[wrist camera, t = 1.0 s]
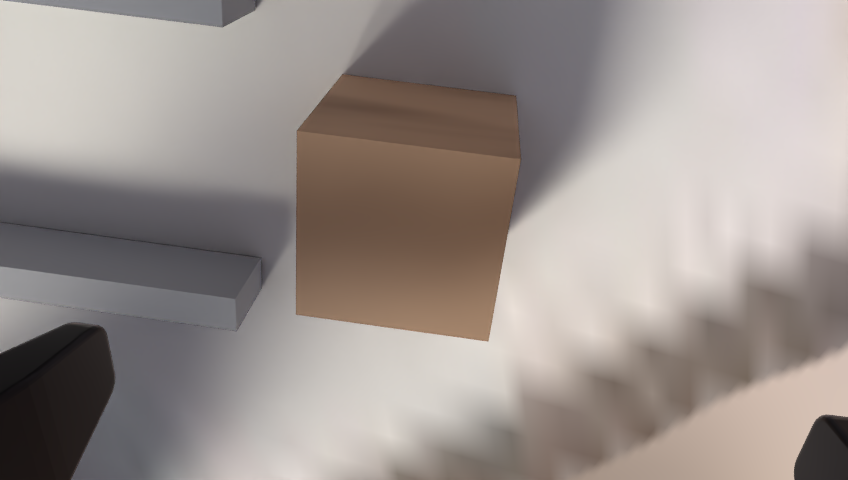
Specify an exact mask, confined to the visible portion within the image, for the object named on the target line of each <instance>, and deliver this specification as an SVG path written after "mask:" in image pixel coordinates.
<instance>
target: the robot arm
mask: <svg viewBox="0 0 848 480" xmlns="http://www.w3.org/2000/svg"><path fill="white" fill-rule="evenodd" d="M114 384H115V371H114V366H113V361H112V356H111V351H110V347H109V342H108V337H107V334H106V331H105V330H104V329H103V328H102V327H101V326H99V325H93V324H85V323H77V322H72V323H67V324H65V325H62V326H60V327H58V328H56V329H54V330H51V331H49V332H47V333H45V334H42V335H40V336H38V337H36V338H34V339H31V340H29V341H27V342H25V343H22V344H20V345H18V346H16V347H14V348H11V349H9V350H7V351H5V352H2V353H0V480H71V478H72V476H73V474H74V472H75V470H76V468H77V466H78V464H79V461H80V459H81V457H82V455H83V453H84V451H85V449H86V447H87V445H88V443H89V441H90V438H91V436H92V434H93V432H94V430H95V428H96V426H97V424H98V422H99V420H100V418H101V415H102V413H103V411H104V409H105V407H106V405H107V403H108V401H109V399H110V397H111V394H112V392H113V389H114ZM794 479H795V480H848V417H843V416H835V415H822V416H820V417H819V418H818V419H816V421H815V422H814V424H813V426H812V428H811V430H810V432H809V435H808V436H807V439H806V441H805V443H804V445H803V447H802V449H801V451H800V453H799V455H798V457H797V460H796V463H795V467H794Z"/></svg>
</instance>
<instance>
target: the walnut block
mask: <svg viewBox="0 0 848 480" xmlns="http://www.w3.org/2000/svg"><path fill="white" fill-rule="evenodd" d="M520 162H521V154H520V141H519V128H518V115H517V101H516V96H514V95H506V94H498V93H490V92H482V91H473V90H465V89H457V88H449V87H441V86H433V85H425V84H417V83H409V82H401V81H393V80H384V79H376V78H368V77H360V76H352V75H344V74H342V76H341V77H340V78H339V79H338V81H337V82H336V83H335V84H334V86H333V87H332V88H331V89H330V90H329V92H328V93H327V94H326V95H325V97H324V98H323V99H322V100H321V102H320V103H319V104H318V105H317V107H316V108H315V109H314V110H313V111H312V113H311V114H310V115H309V116H308V118H307V119H306V120H305V121H304V123H303V124H302V125H301V126H300V128H299V129H298V130H297V207H296V315H302V316H310V317H317V318H324V319H331V320H338V321H345V322H353V323H360V324H367V325H374V326H381V327H388V328H396V329H403V330H410V331H417V332H424V333H432V334H439V335H446V336H453V337H460V338H467V339H475V340H482V341H488V340H489V335H490V329H491V324H492V318H493V313H494V307H495V301H496V296H497V290H498V285H499V279H500V273H501V268H502V262H503V257H504V251H505V246H506V240H507V234H508V229H509V223H510V218H511V212H512V206H513V201H514V195H515V190H516V184H517V179H518V173H519V167H520Z"/></svg>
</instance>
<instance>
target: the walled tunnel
mask: <svg viewBox="0 0 848 480" xmlns="http://www.w3.org/2000/svg"><path fill="white" fill-rule="evenodd" d="M5 1H13V2H21V3H30V4H38V5H46V6H54V7H62V8H70V9H78V10H87V11H95V12H103V13H111V14H119V15H127V16H135V17H144V18H152V19H160V20H168V21H176V22H184V23H193V24H201V25H209V26H217V27H224V26H226V25H228V24H230V23H232V22H234V21H235V20H237V19H239V18H241V17H243V16H245V15H247V14H249V13H251V12H253V11H254V10H255V0H5ZM261 289H262V276H261V258H257V257H250V256H243V255H235V254H228V253H221V252H213V251H206V250H199V249H191V248H184V247H177V246H169V245H162V244H155V243H147V242H140V241H133V240H125V239H118V238H111V237H103V236H96V235H89V234H81V233H74V232H67V231H59V230H52V229H45V228H37V227H30V226H23V225H15V224H8V223H1V222H0V298H5V299H13V300H20V301H27V302H34V303H41V304H48V305H55V306H62V307H69V308H76V309H83V310H91V311H98V312H105V313H112V314H119V315H126V316H133V317H140V318H147V319H154V320H162V321H169V322H176V323H183V324H190V325H197V326H204V327H211V328H218V329H225V330H232V331H237V330H238V328H239V326H240V325H241V323H242V321H243V319H244V318H245V316H246V314H247V313H248V311H249V309H250V307H251V306H252V304H253V302H254V301H255V299H256V297H257V295H258V294H259V292H260V290H261Z"/></svg>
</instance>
